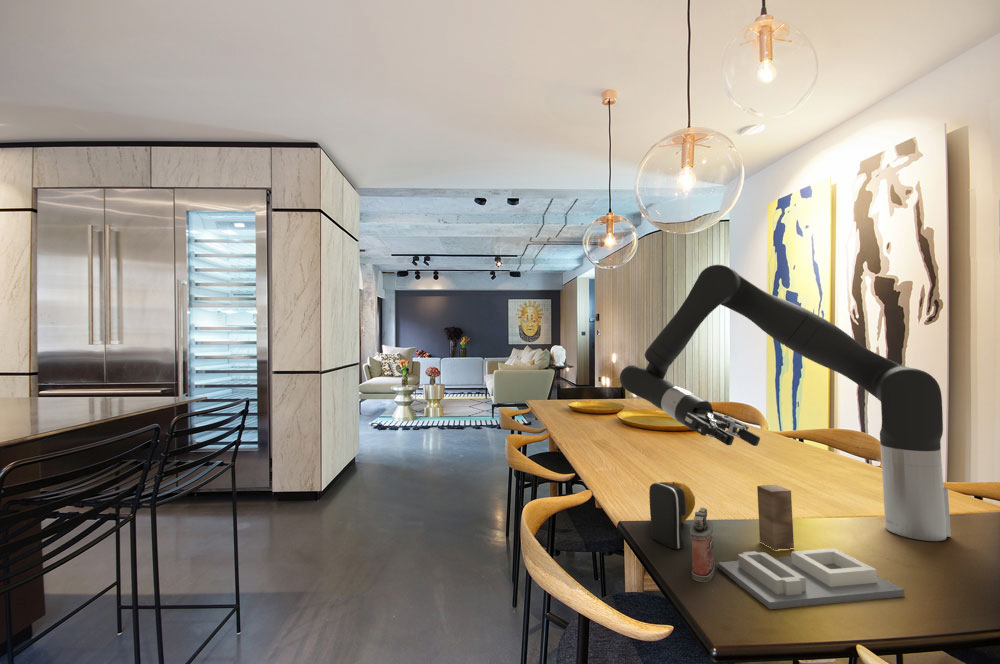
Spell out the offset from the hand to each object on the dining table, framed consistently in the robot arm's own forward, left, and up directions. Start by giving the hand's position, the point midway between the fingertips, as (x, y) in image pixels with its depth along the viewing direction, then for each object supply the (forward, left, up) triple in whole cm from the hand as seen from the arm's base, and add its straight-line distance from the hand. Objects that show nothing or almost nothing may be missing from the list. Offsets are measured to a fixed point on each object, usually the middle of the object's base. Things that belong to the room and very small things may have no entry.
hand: (745, 441), depth 96 cm
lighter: (+18, +14, -19) cm, 29 cm away
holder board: (+4, +20, -19) cm, 27 cm away
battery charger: (+18, +2, -19) cm, 26 cm away
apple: (+12, -8, -19) cm, 24 cm away
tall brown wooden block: (-1, +7, -19) cm, 20 cm away
